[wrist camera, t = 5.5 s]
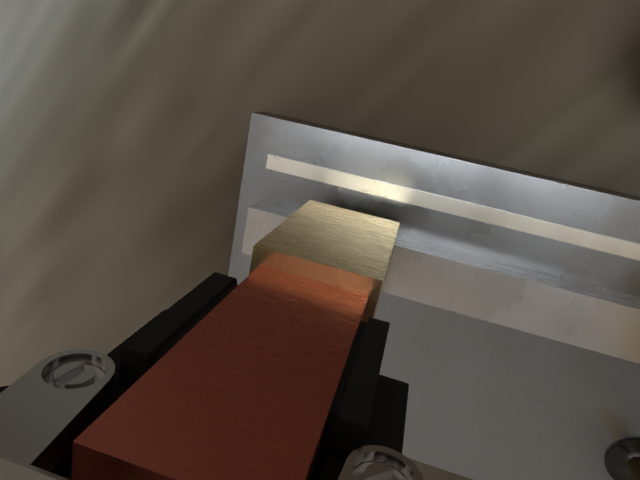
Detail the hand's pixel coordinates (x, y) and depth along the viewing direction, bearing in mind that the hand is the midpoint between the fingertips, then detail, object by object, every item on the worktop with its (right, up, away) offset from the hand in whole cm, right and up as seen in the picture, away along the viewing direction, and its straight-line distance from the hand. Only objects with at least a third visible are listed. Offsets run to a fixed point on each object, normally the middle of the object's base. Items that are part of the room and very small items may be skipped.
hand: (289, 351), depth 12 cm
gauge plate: (+8, -1, +9) cm, 13 cm away
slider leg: (+2, 0, +9) cm, 9 cm away
